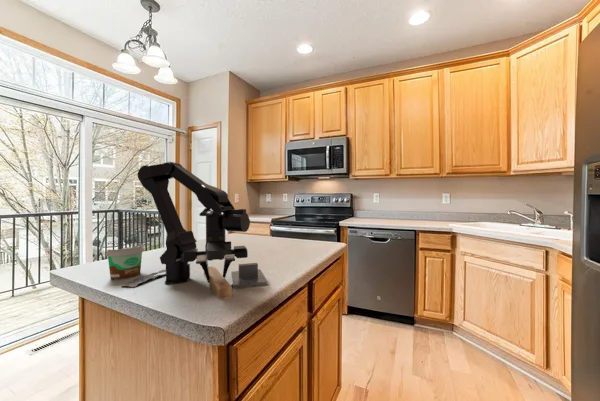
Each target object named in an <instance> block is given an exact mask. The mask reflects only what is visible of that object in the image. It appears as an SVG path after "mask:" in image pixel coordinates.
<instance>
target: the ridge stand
mask: <svg viewBox="0 0 600 401" xmlns="http://www.w3.org/2000/svg"><path fill="white" fill-rule="evenodd" d="M258 264H259V263H258V262H248V263H238V270H236V271H231V274H230V275H231V280H232V286H233V287H232V288H233V289H241V288H249V287H258V286H267V285H268V280H267V279H266V277H265V275H264V272H262V270H261V269H259V265H258Z"/></svg>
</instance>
